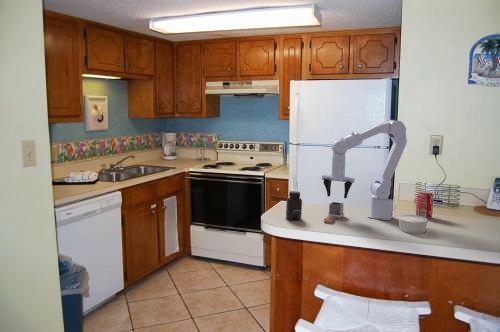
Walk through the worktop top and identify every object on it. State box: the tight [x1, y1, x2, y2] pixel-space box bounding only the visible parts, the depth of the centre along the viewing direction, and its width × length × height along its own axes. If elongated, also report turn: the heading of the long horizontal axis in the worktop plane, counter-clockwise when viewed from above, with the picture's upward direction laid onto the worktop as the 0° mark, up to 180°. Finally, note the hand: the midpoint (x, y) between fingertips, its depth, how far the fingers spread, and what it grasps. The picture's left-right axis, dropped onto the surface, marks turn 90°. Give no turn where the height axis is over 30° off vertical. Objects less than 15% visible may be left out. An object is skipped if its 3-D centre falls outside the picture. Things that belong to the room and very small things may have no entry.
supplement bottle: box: [285, 190, 303, 222], centre depth 182 cm, size 7×7×12 cm
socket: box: [328, 201, 344, 215], centre depth 188 cm, size 5×5×4 cm
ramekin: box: [397, 214, 429, 235], centre depth 168 cm, size 11×11×5 cm
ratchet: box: [323, 212, 345, 225], centre depth 184 cm, size 16×7×4 cm, turn 152°
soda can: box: [415, 190, 435, 220], centre depth 189 cm, size 7×7×12 cm
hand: (337, 197), depth 187 cm, fingers open, 7 cm apart
